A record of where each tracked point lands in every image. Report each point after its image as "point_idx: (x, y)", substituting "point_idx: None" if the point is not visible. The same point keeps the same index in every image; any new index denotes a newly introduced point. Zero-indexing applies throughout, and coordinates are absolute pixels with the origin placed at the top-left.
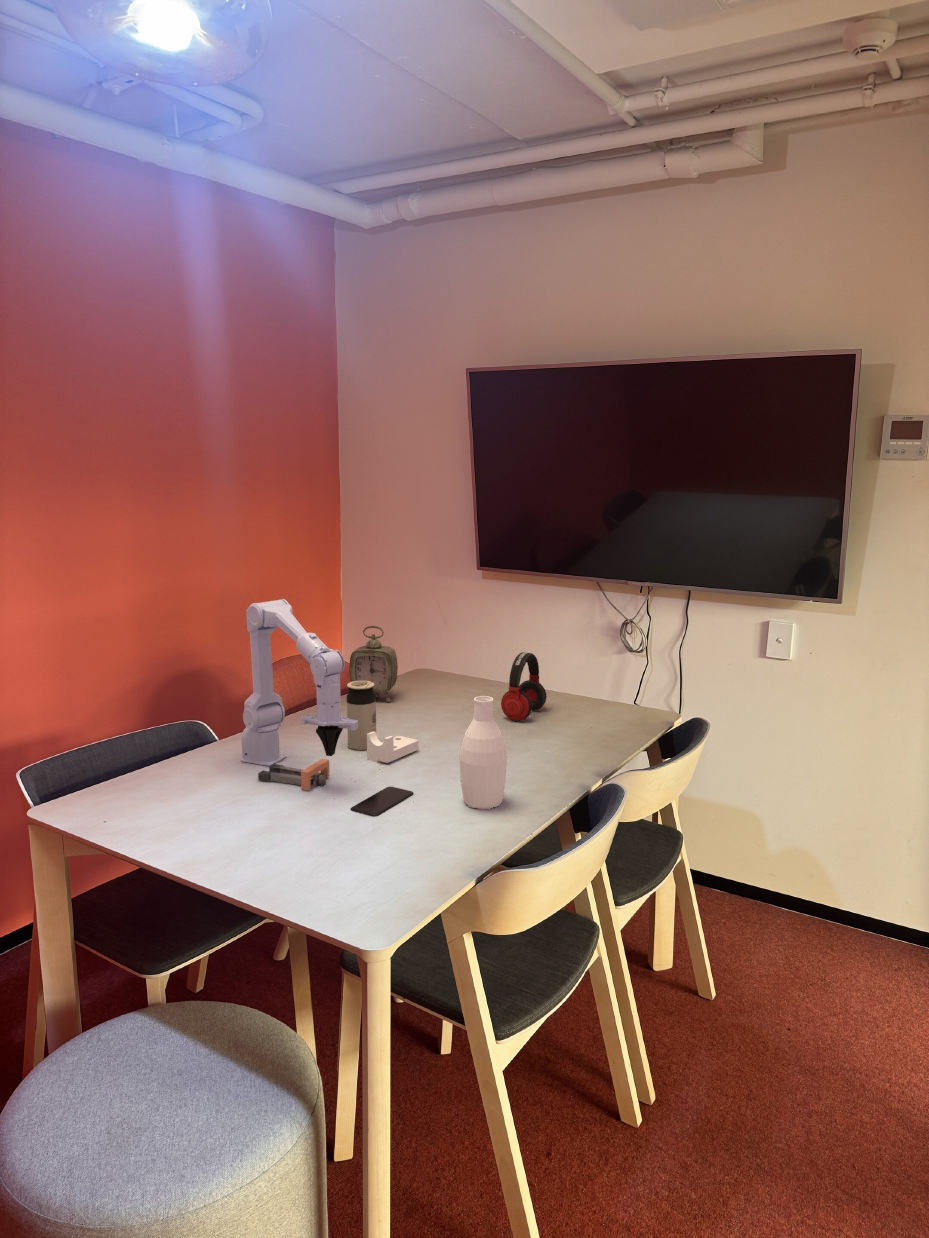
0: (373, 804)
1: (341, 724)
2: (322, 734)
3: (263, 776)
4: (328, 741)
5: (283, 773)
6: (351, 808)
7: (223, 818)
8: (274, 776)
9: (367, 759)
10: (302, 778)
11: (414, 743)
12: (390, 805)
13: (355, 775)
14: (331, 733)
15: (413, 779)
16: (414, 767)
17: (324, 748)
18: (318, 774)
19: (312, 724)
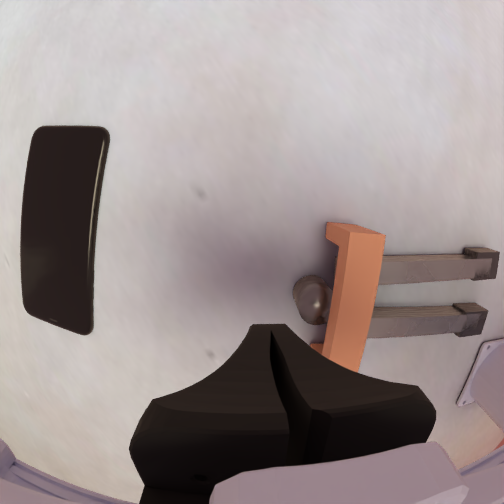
0: (57, 187)
1: (24, 496)
2: (329, 394)
3: (484, 250)
4: (255, 366)
5: (447, 309)
6: (101, 130)
7: (421, 2)
8: (462, 257)
9: None
10: (366, 230)
11: None
12: (23, 202)
13: None
14: (171, 404)
15: (80, 394)
16: (126, 451)
17: (299, 338)
18: (328, 305)
19: (477, 460)
